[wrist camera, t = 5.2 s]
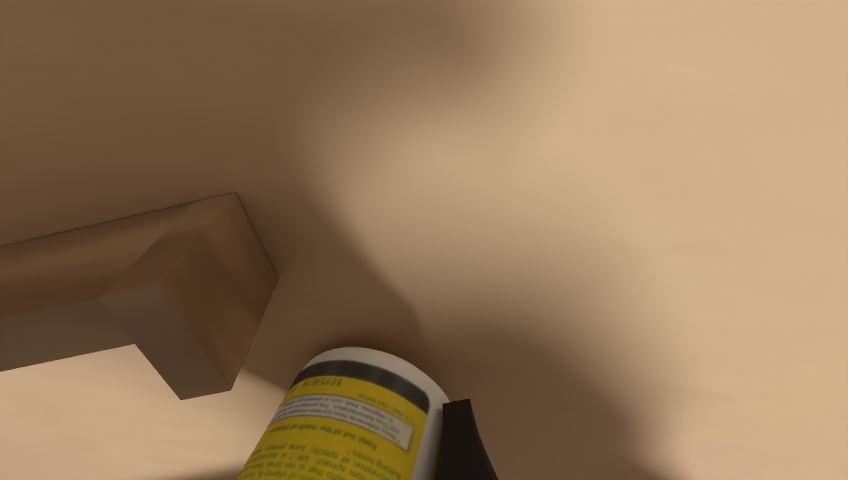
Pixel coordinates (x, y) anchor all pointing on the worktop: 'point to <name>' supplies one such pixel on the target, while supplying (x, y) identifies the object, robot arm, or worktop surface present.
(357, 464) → the supplement bottle
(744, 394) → the worktop surface
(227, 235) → the walled box
